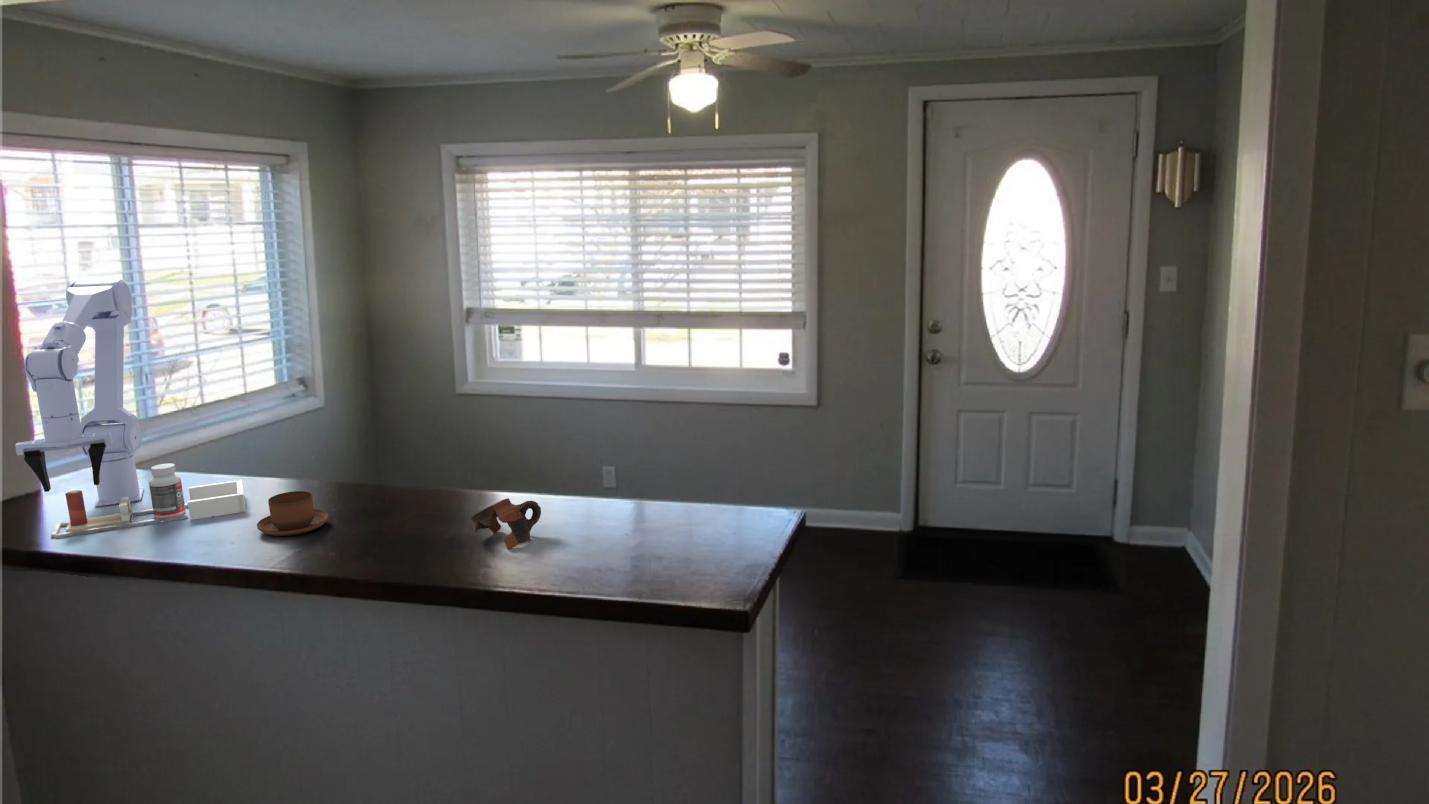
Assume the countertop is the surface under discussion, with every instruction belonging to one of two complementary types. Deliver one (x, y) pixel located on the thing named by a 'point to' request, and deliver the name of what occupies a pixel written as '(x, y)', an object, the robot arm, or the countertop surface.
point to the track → (113, 527)
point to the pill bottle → (166, 491)
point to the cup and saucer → (292, 514)
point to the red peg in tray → (82, 522)
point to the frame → (216, 499)
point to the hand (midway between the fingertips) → (72, 487)
